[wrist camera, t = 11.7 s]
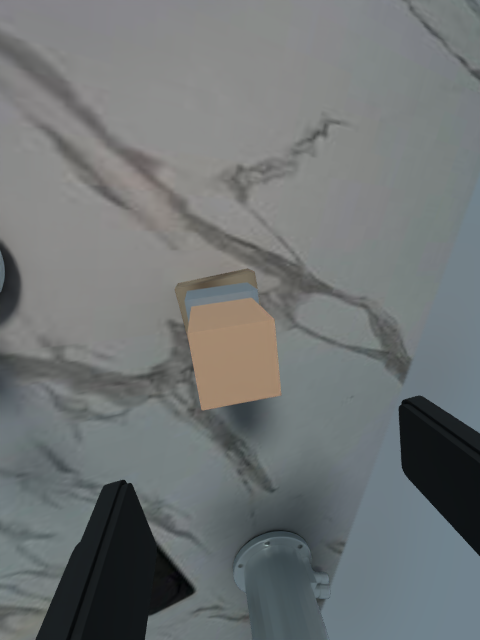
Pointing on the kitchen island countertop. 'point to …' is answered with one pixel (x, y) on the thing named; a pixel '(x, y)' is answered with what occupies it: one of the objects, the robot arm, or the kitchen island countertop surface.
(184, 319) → the light brown wooden plinth
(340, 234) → the kitchen island countertop surface
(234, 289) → the slate-grey cube
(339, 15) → the kitchen island countertop surface
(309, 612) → the robot arm
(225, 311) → the peach rectangular block
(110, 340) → the kitchen island countertop surface
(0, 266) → the flower in vase
